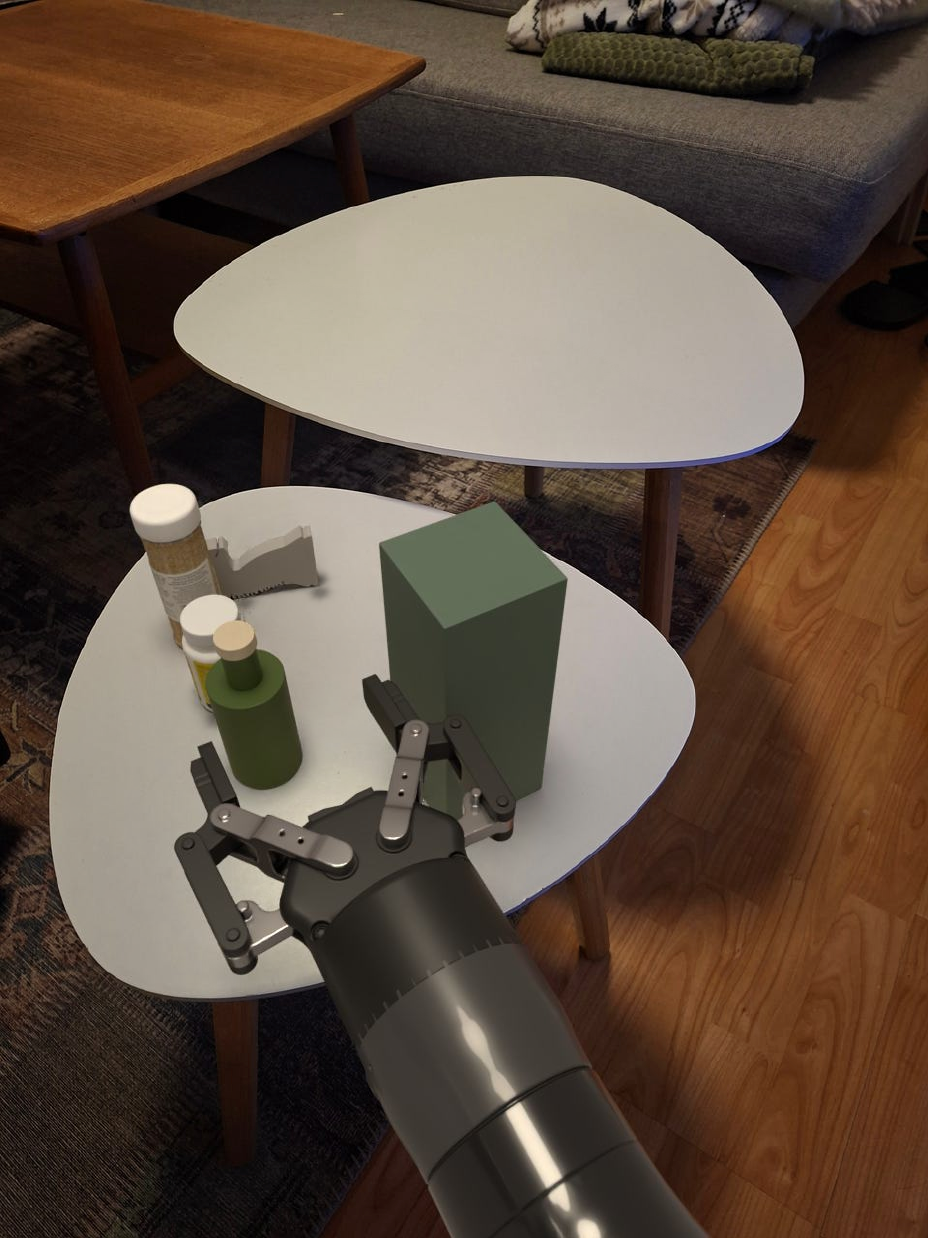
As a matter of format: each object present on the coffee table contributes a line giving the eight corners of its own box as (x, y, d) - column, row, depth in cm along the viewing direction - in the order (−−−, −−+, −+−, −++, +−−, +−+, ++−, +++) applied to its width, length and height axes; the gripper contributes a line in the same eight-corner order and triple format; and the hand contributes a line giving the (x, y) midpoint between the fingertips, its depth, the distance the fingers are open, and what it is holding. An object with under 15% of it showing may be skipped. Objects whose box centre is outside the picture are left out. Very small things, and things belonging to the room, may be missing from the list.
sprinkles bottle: (229, 609, 73) (195, 477, 63) (231, 649, 70) (196, 517, 60) (172, 617, 72) (129, 485, 63) (172, 658, 69) (126, 526, 59)
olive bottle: (245, 801, 60) (206, 678, 51) (221, 748, 63) (180, 623, 54) (313, 770, 62) (288, 646, 53) (286, 721, 65) (258, 595, 56)
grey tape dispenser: (318, 586, 75) (198, 604, 73) (316, 575, 76) (197, 593, 74) (312, 534, 71) (183, 552, 69) (309, 524, 72) (183, 541, 70)
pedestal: (447, 835, 59) (444, 628, 44) (396, 754, 63) (378, 542, 49) (541, 788, 61) (568, 577, 47) (486, 713, 66) (494, 500, 51)
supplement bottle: (276, 691, 67) (258, 613, 61) (225, 727, 65) (201, 650, 58) (237, 658, 69) (216, 580, 63) (186, 692, 67) (159, 615, 61)
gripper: (612, 882, 34) (415, 615, 44) (261, 1080, 29) (126, 730, 39) (589, 962, 39) (419, 709, 49) (290, 1141, 34) (165, 820, 44)
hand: (290, 719), depth 44 cm, fingers open, 8 cm apart
